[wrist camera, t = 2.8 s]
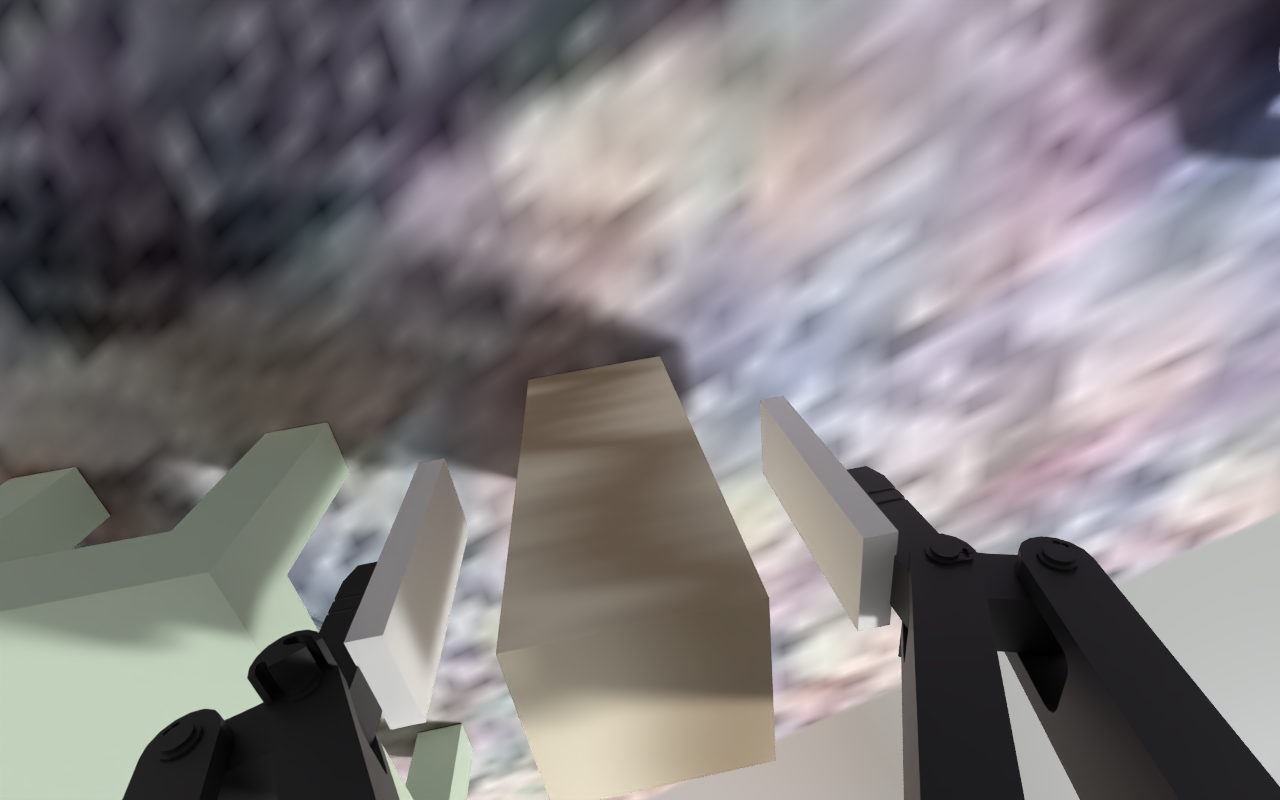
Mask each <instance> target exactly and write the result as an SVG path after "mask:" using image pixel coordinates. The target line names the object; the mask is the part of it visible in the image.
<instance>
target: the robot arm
mask: <svg viewBox="0 0 1280 800" xmlns="http://www.w3.org/2000/svg"><path fill="white" fill-rule="evenodd" d="M760 415H761V439H762V463H763V474H764V476H765V477H766V479H767V481H768V482H769V484H770V486H771V487H772V489H773V491H774V492H775V494H776V496H777V497H778V499H779V501H780V502H781V504H782V506H783V507H784V509H785V511H786V512H787V514H788V516H789V517H790V519H791V521H792V522H793V524H794V526H795V527H796V529H797V531H798V532H799V534H800V536H801V537H802V539H803V541H804V542H805V544H806V546H807V547H808V549H809V551H810V552H811V554H812V556H813V557H814V559H815V561H816V562H817V564H818V566H819V567H820V569H821V571H822V572H823V574H824V576H825V577H826V579H827V581H828V582H829V584H830V586H831V587H832V589H833V591H834V592H835V594H836V596H837V597H838V599H839V601H840V602H841V604H842V606H843V607H844V609H845V611H846V612H847V614H848V616H849V617H850V619H851V621H852V622H853V624H854V626H855V627H856V629H857V631H862V630H866V629H871V628H876V627H881V626H885V625H890V616H891V606H892V607H893V609H894V610H895V612H896V613H897V614H898V616H899V617H900V619H901V620H902V628H901V637H900V646H899V655H898V656H899V657H901V663H902V713H903V716H902V717H903V768H904V800H1024V794H1023V788H1022V783H1021V778H1020V772H1019V767H1018V762H1017V756H1016V751H1015V745H1014V740H1013V735H1012V730H1011V724H1010V718H1009V714H1008V708H1007V702H1006V697H1005V692H1004V686H1003V681H1002V676H1001V670H1000V666H999V659H998V654H997V651H1004V652H1005V654H1006V656H1007V658H1008V660H1009V661H1010V663H1011V665H1012V667H1013V669H1014V671H1015V673H1016V675H1017V677H1018V679H1019V681H1020V683H1021V685H1022V687H1023V689H1024V691H1025V693H1026V695H1027V696H1028V699H1029V701H1030V703H1031V704H1032V706H1033V708H1034V710H1035V712H1036V714H1037V716H1038V718H1039V720H1040V722H1041V724H1042V726H1043V728H1044V730H1045V732H1046V734H1047V735H1048V738H1049V740H1050V742H1051V744H1052V746H1053V747H1054V750H1055V751H1056V753H1057V755H1058V757H1059V759H1060V761H1061V763H1062V765H1063V767H1064V769H1065V771H1066V773H1067V775H1068V777H1069V779H1070V781H1071V783H1072V784H1073V787H1074V789H1075V790H1076V793H1077V795H1078V796H1079V798H1080V800H1280V787H1279V785H1278V784H1277V783H1276V782H1275V781H1274V779H1273V778H1272V777H1271V775H1270V774H1269V773H1268V772H1267V771H1266V769H1265V768H1264V767H1263V766H1262V764H1261V763H1260V762H1259V761H1258V760H1257V758H1256V757H1255V756H1254V755H1253V754H1252V752H1251V751H1250V750H1249V748H1248V747H1247V746H1246V745H1245V744H1244V742H1243V741H1242V740H1241V739H1240V737H1239V736H1238V735H1237V734H1236V732H1235V731H1234V730H1233V729H1232V728H1231V726H1230V725H1229V724H1228V723H1227V721H1226V720H1225V719H1224V718H1223V717H1222V715H1221V714H1220V713H1219V712H1218V710H1217V709H1216V708H1215V707H1214V705H1213V704H1212V703H1211V702H1210V701H1209V699H1208V698H1207V697H1206V696H1205V694H1204V693H1203V692H1202V691H1201V689H1200V688H1199V687H1198V686H1197V685H1196V683H1195V682H1194V681H1193V680H1192V679H1191V677H1190V676H1189V675H1188V674H1187V672H1186V671H1185V670H1184V669H1183V667H1182V666H1181V665H1180V664H1179V662H1178V661H1177V660H1176V659H1175V658H1174V656H1173V655H1172V654H1171V653H1170V651H1169V650H1168V649H1167V648H1166V647H1165V645H1164V644H1163V643H1162V642H1161V640H1160V639H1159V638H1158V637H1157V635H1156V634H1155V633H1154V632H1153V631H1152V629H1151V628H1150V627H1149V626H1148V624H1147V623H1146V622H1145V621H1144V619H1143V618H1142V617H1141V616H1140V615H1139V613H1138V612H1137V611H1136V610H1135V608H1134V607H1133V606H1132V605H1131V604H1130V602H1129V601H1128V600H1127V599H1126V597H1125V596H1124V595H1123V594H1122V592H1121V591H1120V590H1119V589H1118V588H1117V586H1116V585H1115V584H1114V583H1113V581H1112V580H1111V579H1110V578H1109V576H1108V575H1107V574H1106V573H1105V572H1104V570H1103V569H1102V568H1101V567H1100V565H1099V564H1098V563H1097V562H1096V561H1095V559H1094V558H1093V557H1092V556H1091V555H1089V554H1088V553H1087V552H1086V551H1085V550H1084V549H1082V548H1080V547H1078V546H1076V545H1074V544H1072V543H1070V542H1067V541H1064V540H1060V539H1057V538H1050V537H1035V538H1029V539H1027V540H1026V541H1024V542H1022V543H1021V545H1020V548H1019V551H1018V555H1005V554H985V553H977V552H976V550H974V549H973V548H972V547H971V546H970V545H969V544H968V543H966V542H964V541H962V540H960V539H958V538H956V537H953V536H949V535H945V534H939V533H938V532H937V531H936V530H935V529H934V528H933V527H932V526H931V525H930V524H929V523H928V522H927V521H926V519H925V518H924V517H923V516H922V515H921V514H920V513H919V512H918V511H917V510H916V509H915V508H914V507H913V506H912V505H911V504H910V503H909V502H908V500H905V498H904V496H903V495H902V494H901V493H900V492H899V491H898V490H896V489H895V487H894V486H893V485H892V484H891V482H890V481H889V480H888V479H887V478H886V477H885V476H884V475H882V474H880V473H878V472H876V471H875V470H873V469H871V468H869V467H867V466H864V467H859V468H854V469H849V470H846V469H845V468H844V467H843V466H842V464H841V463H840V462H839V461H838V460H837V458H836V457H835V456H834V455H833V454H832V453H831V451H830V450H829V449H828V448H827V447H826V446H825V444H824V443H823V442H822V441H821V440H820V438H819V437H818V436H817V435H816V434H815V433H814V431H813V430H812V429H811V428H810V427H809V426H808V424H807V423H806V422H805V421H804V420H803V418H802V417H801V416H800V415H799V414H798V413H797V411H796V410H795V409H794V408H793V407H792V406H791V404H790V403H789V402H788V401H787V400H786V399H785V397H784V396H781V397H776V398H770V399H765V400H760ZM468 532H469V527H468V525H467V522H466V519H465V516H464V513H463V510H462V507H461V504H460V502H459V499H458V496H457V493H456V490H455V487H454V484H453V481H452V479H451V476H450V473H449V470H448V467H447V464H446V461H445V458H444V459H438V460H433V461H427V462H422V463H419V465H418V467H417V469H416V472H415V474H414V476H413V479H412V481H411V484H410V486H409V488H408V491H407V493H406V495H405V498H404V500H403V503H402V505H401V507H400V510H399V512H398V515H397V517H396V519H395V522H394V524H393V526H392V529H391V531H390V534H389V536H388V538H387V541H386V543H385V546H384V548H383V550H382V553H381V555H380V557H379V560H378V562H374V563H369V564H363V565H358V566H357V567H356V568H355V569H354V570H353V571H352V573H351V574H350V575H349V576H348V577H347V578H346V579H345V580H344V581H343V583H342V585H341V587H340V589H339V591H338V593H337V595H336V597H335V602H333V603H332V606H331V608H330V610H329V612H328V613H329V615H327V616H326V618H325V620H324V622H323V624H322V626H321V629H320V631H319V633H318V632H317V631H313V630H309V629H308V630H301V631H295V632H293V633H290V634H288V635H285V636H283V637H281V638H279V639H278V640H276V641H275V642H273V643H272V644H270V645H268V646H267V647H266V648H265V649H264V650H263V651H262V652H261V653H260V654H259V655H258V656H257V657H256V658H255V660H254V661H253V663H252V664H251V666H250V667H249V671H248V676H247V679H248V680H249V682H250V683H251V685H252V686H253V688H254V689H255V691H256V692H257V694H258V695H259V697H260V698H261V699H262V701H263V703H261V704H259V705H257V706H255V707H253V708H250V709H248V710H246V711H244V712H242V713H239V714H237V715H235V716H233V717H231V718H228V719H226V720H224V719H223V718H222V717H221V715H220V714H219V713H218V712H217V711H216V710H213V709H201V710H198V711H194V712H190V713H188V714H186V715H185V716H183V717H181V718H179V719H177V720H175V721H174V722H172V723H171V724H170V725H168V726H167V727H166V728H164V729H163V730H162V731H160V732H159V733H158V734H157V735H156V736H155V737H154V739H153V740H152V741H151V742H150V743H149V744H148V745H147V746H146V748H145V750H144V751H143V753H142V755H141V756H140V758H139V760H138V762H137V765H136V767H135V770H134V772H133V775H132V777H131V780H130V782H129V784H128V787H127V789H126V792H125V794H124V797H123V799H122V800H400V799H399V796H398V793H397V789H396V786H395V783H394V780H393V777H392V774H391V771H390V768H389V765H388V762H387V759H386V756H385V752H384V749H383V746H382V743H381V742H380V740H379V738H378V736H377V734H376V731H377V727H378V724H379V721H380V717H381V714H382V715H383V717H384V719H385V720H386V722H387V724H388V726H389V728H390V730H392V729H397V728H402V727H406V726H411V725H416V724H421V723H425V722H426V719H427V715H428V710H429V706H430V701H431V697H432V692H433V688H434V683H435V679H436V674H437V670H438V666H439V661H440V657H441V652H442V648H443V643H444V639H445V634H446V630H447V625H448V621H449V617H450V612H451V608H452V603H453V599H454V594H455V590H456V585H457V581H458V576H459V572H460V567H461V563H462V559H463V554H464V550H465V545H466V541H467V536H468Z"/></svg>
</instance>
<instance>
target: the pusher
mask: <svg viewBox="0 0 1280 800" xmlns="http://www.w3.org/2000/svg"><path fill="white" fill-rule="evenodd" d="M496 656H497V658H498V661H499V664H500V666H501V669H502V672H503V675H504V677H505V680H506V683H507V686H508V688H509V691H510V694H511V696H512V699H513V702H514V705H515V707H516V710H517V713H518V715H519V718H520V721H521V724H522V726H523V729H524V732H525V735H526V737H527V740H528V743H529V745H530V748H531V751H532V754H533V756H534V759H535V762H536V764H537V767H538V770H539V773H540V775H541V778H542V781H543V784H544V786H545V789H546V792H547V794H548V797H549V800H601V799H605V798H610V797H614V796H619V795H623V794H628V793H632V792H637V791H641V790H646V789H650V788H655V787H659V786H664V785H668V784H673V783H677V782H682V781H686V780H691V779H695V778H700V777H704V776H708V775H713V774H717V773H722V772H726V771H731V770H735V769H740V768H744V767H749V766H753V765H758V764H762V763H766V762H771V761H775V760H776V759H775V733H774V709H773V684H772V660H771V636H770V612H769V597H768V595H767V593H766V590H765V588H764V586H763V584H762V582H761V579H760V577H759V575H758V573H757V570H756V568H755V566H754V564H753V562H752V559H751V557H750V555H749V553H748V550H747V548H746V546H745V544H744V542H743V539H742V537H741V535H740V533H739V531H738V528H737V526H736V524H735V522H734V519H733V517H732V515H731V513H730V511H729V508H728V506H727V504H726V502H725V499H724V497H723V495H722V493H721V491H720V488H719V486H718V484H717V482H716V480H715V477H714V475H713V473H712V471H711V468H710V466H709V464H708V462H707V460H706V457H705V455H704V453H703V451H702V449H701V446H700V444H699V442H698V440H697V437H696V435H695V433H694V431H693V429H692V426H691V424H690V422H689V420H688V417H687V415H686V413H685V411H684V409H683V406H682V404H681V402H680V400H679V398H678V395H677V393H676V391H675V389H674V386H673V384H672V382H671V380H670V378H669V375H668V373H667V371H666V369H665V366H664V364H663V362H662V360H661V358H660V356H658V357H652V358H646V359H641V360H635V361H629V362H624V363H618V364H612V365H607V366H601V367H595V368H590V369H584V370H579V371H573V372H567V373H562V374H556V375H550V376H545V377H539V378H533V379H529V381H528V389H527V397H526V406H525V414H524V422H523V431H522V439H521V448H520V456H519V464H518V473H517V481H516V490H515V498H514V506H513V515H512V523H511V532H510V540H509V548H508V557H507V565H506V574H505V582H504V590H503V599H502V607H501V616H500V624H499V632H498V641H497V649H496Z"/></svg>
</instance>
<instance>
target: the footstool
mask: <svg viewBox="0 0 1280 800" xmlns="http://www.w3.org/2000/svg"><path fill="white" fill-rule="evenodd" d="M349 473H350V472H349V469H348V467H347V465H346V463H345V460H344V458H343V456H342V454H341V451H340V449H339V447H338V445H337V442H336V440H335V438H334V436H333V433H332V431H331V429H330V427H329V424H328V422H326V423H321V424H315V425H309V426H304V427H298V428H292V429H287V430H281V431H276V432H270V433H266V434H265V435H264V436H263V437H262V438H261V439H260V440H259V441H258V442H257V443H256V444H255V445H254V446H253V447H252V448H251V449H250V450H249V451H248V452H247V453H246V454H245V455H244V456H243V457H242V458H241V459H240V460H239V461H238V462H237V463H236V465H235V466H234V467H233V468H232V469H231V470H230V471H229V472H228V473H227V474H226V475H225V476H224V477H223V478H222V479H221V480H220V481H219V482H218V483H217V484H216V485H215V486H214V487H213V488H212V489H211V490H210V491H209V492H208V493H207V494H206V495H205V497H204V498H203V499H202V500H201V501H200V502H199V503H198V504H197V505H196V506H195V507H194V508H193V509H192V510H191V511H190V512H189V513H188V514H187V515H186V516H185V517H184V518H183V519H182V520H181V521H180V522H179V523H178V524H177V525H176V526H175V528H174V529H173V530H172V531H168V532H163V533H157V534H152V535H146V536H141V537H136V538H130V539H125V540H119V541H114V542H109V543H103V544H98V545H93V546H87V547H82V548H76V549H73V548H74V547H75V546H76V545H77V544H79V543H80V542H81V541H82V540H83V539H84V538H85V537H87V536H88V535H89V534H90V533H91V532H92V531H94V530H95V529H96V528H97V527H98V526H99V525H101V524H102V523H103V522H104V521H105V520H106V519H108V518H109V517H110V515H109V513H108V512H107V510H106V509H105V508H104V506H103V505H102V503H101V502H100V501H99V499H98V498H97V496H96V495H95V493H94V492H93V491H92V489H91V488H90V486H89V485H88V484H87V482H86V481H85V479H84V478H83V477H82V475H81V474H80V472H79V471H78V469H77V468H76V467H73V468H67V469H62V470H56V471H50V472H45V473H39V474H33V475H28V476H22V477H17V478H11V479H9V480H8V481H6V482H4V483H3V484H1V485H0V800H122V799H123V797H124V794H125V792H126V789H127V787H128V784H129V782H130V780H131V777H132V775H133V772H134V770H135V767H136V765H137V762H138V760H139V758H140V756H141V755H142V753H143V751H144V750H145V748H146V746H147V745H148V744H149V743H150V742H151V741H152V740H153V739H154V737H155V736H156V735H157V734H158V733H159V732H160V731H162V730H163V729H164V728H166V727H167V726H168V725H170V724H171V723H172V722H174V721H175V720H177V719H179V718H181V717H183V716H185V715H186V714H188V713H190V712H194V711H198V710H201V709H213V710H216V711H217V712H218V713H219V714H220V715H221V717H222V718H223V719H224V720H226V719H228V718H231V717H233V716H235V715H237V714H239V713H242V712H244V711H246V710H248V709H250V708H253V707H255V706H257V705H259V704H261V703H263V701H262V699H261V698H260V697H259V695H258V694H257V692H256V691H255V689H254V688H253V686H252V685H251V683H250V682H249V680H248V679H247V676H248V671H249V667H250V666H251V664H252V663H253V661H254V660H255V658H256V657H257V656H258V655H259V654H260V653H261V652H262V651H263V650H264V649H265V648H266V647H267V646H268V645H270V644H272V643H273V642H275V641H276V640H278V639H279V638H281V637H283V636H285V635H288V634H290V633H293V632H295V631H301V630H308V629H309V630H313V631H317V632H318V633H319V631H318V629H317V628H316V626H315V624H314V622H313V620H312V619H311V617H310V615H309V613H308V612H307V610H306V608H305V606H304V604H303V603H302V601H301V599H300V597H299V596H298V594H297V592H296V590H295V588H294V587H293V585H292V583H291V581H290V580H289V578H288V576H287V574H288V572H289V571H290V569H291V567H292V566H293V564H294V563H295V561H296V559H297V558H298V556H299V554H300V553H301V551H302V549H303V548H304V546H305V545H306V543H307V541H308V540H309V538H310V536H311V535H312V533H313V531H314V530H315V528H316V527H317V525H318V523H319V522H320V520H321V518H322V517H323V515H324V513H325V512H326V510H327V509H328V507H329V505H330V504H331V502H332V500H333V499H334V497H335V495H336V494H337V492H338V491H339V489H340V487H341V486H342V484H343V482H344V481H345V479H346V477H347V476H348V474H349ZM380 742H381V741H380ZM382 746H383V745H382ZM383 749H384V752H385V756H386V759H387V762H388V765H389V768H390V771H391V774H392V777H393V780H394V783H395V786H396V789H397V793H398V796H399V799H400V800H466V799H467V792H468V785H469V778H470V770H471V763H472V756H473V748H472V746H471V744H470V741H469V739H468V737H467V735H466V732H465V730H464V728H463V726H462V724H458V725H453V726H449V727H444V728H439V729H435V730H430V731H425V732H420V733H418V735H417V739H416V743H415V748H414V752H413V756H412V760H411V765H410V769H409V773H408V778H407V782H406V786H405V784H404V782H403V780H402V779H401V777H400V775H399V773H398V772H397V770H396V768H395V766H394V764H393V763H392V761H391V759H390V757H389V756H388V754H387V752H386V750H385V748H384V747H383Z"/></svg>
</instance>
